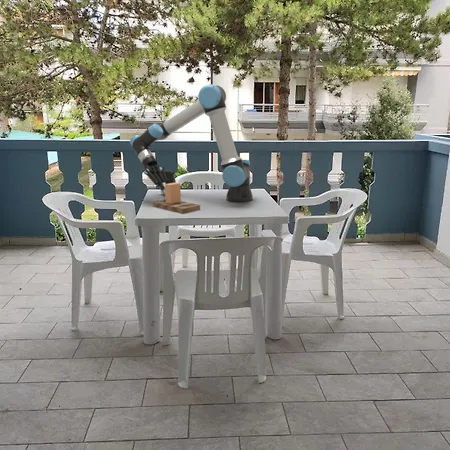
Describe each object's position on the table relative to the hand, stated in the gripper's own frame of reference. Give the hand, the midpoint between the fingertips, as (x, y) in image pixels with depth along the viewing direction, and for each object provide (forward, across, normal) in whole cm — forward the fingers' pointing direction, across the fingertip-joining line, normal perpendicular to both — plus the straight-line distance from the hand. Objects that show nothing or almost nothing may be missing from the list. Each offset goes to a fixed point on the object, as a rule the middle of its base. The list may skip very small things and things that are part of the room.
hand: (168, 193), depth 237 cm
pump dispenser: (-13, -21, -23) cm, 34 cm away
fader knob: (+5, 0, -1) cm, 5 cm away
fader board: (+9, 0, -1) cm, 9 cm away
